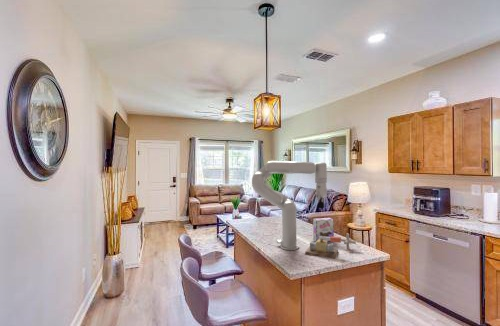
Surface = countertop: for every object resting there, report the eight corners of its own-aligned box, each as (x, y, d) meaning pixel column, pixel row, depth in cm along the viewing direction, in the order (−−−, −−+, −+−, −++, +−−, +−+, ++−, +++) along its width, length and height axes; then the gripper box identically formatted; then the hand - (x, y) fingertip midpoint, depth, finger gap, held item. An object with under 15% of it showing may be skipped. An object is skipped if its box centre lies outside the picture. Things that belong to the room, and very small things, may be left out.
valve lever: (318, 240, 161) (318, 236, 161) (319, 239, 164) (319, 235, 164) (340, 242, 155) (340, 238, 155) (341, 241, 158) (340, 237, 158)
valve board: (305, 254, 160) (305, 251, 160) (310, 248, 171) (310, 245, 171) (335, 258, 152) (335, 256, 152) (338, 252, 163) (338, 249, 163)
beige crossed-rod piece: (343, 245, 176) (342, 231, 177) (357, 248, 170) (357, 233, 170) (337, 249, 169) (337, 234, 169) (353, 252, 162) (353, 236, 162)
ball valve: (309, 251, 162) (309, 239, 162) (311, 248, 167) (311, 237, 167) (332, 254, 156) (332, 242, 156) (333, 251, 161) (333, 239, 161)
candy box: (316, 242, 183) (316, 219, 183) (313, 240, 189) (312, 218, 189) (334, 241, 186) (333, 219, 186) (330, 239, 191) (329, 217, 192)
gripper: (323, 181, 163) (323, 210, 163) (329, 180, 176) (329, 206, 176) (312, 181, 167) (312, 209, 167) (318, 180, 180) (318, 205, 180)
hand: (321, 207), depth 172 cm, fingers closed
